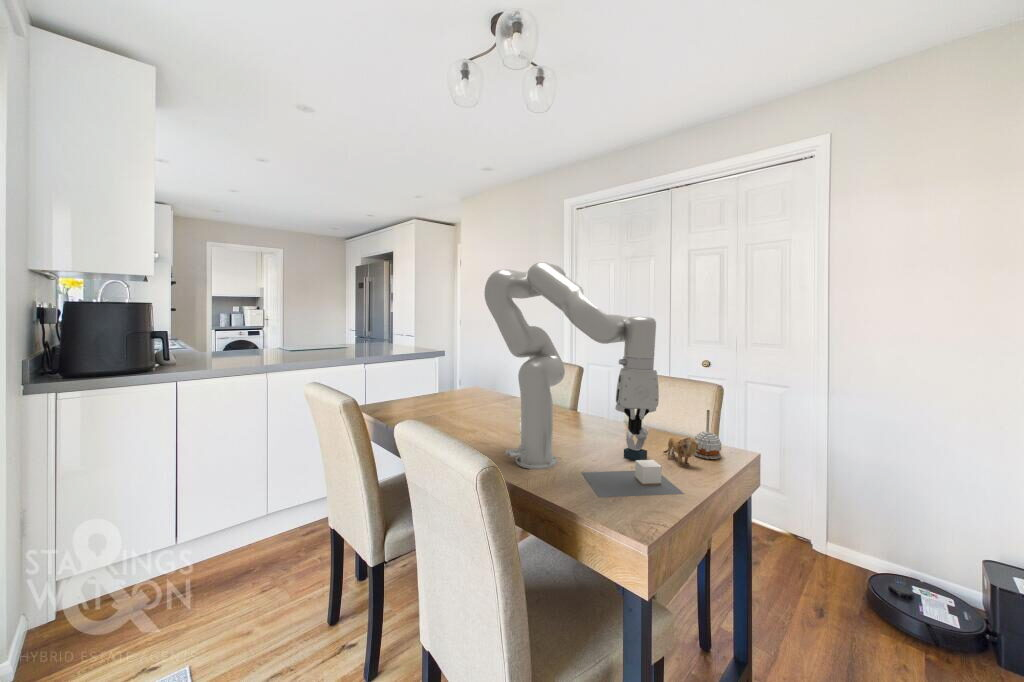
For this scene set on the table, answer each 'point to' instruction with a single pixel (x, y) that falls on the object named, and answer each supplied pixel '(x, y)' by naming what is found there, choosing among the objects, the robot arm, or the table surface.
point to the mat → (626, 484)
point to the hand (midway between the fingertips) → (634, 432)
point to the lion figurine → (682, 449)
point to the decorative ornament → (708, 443)
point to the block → (648, 472)
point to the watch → (636, 451)
